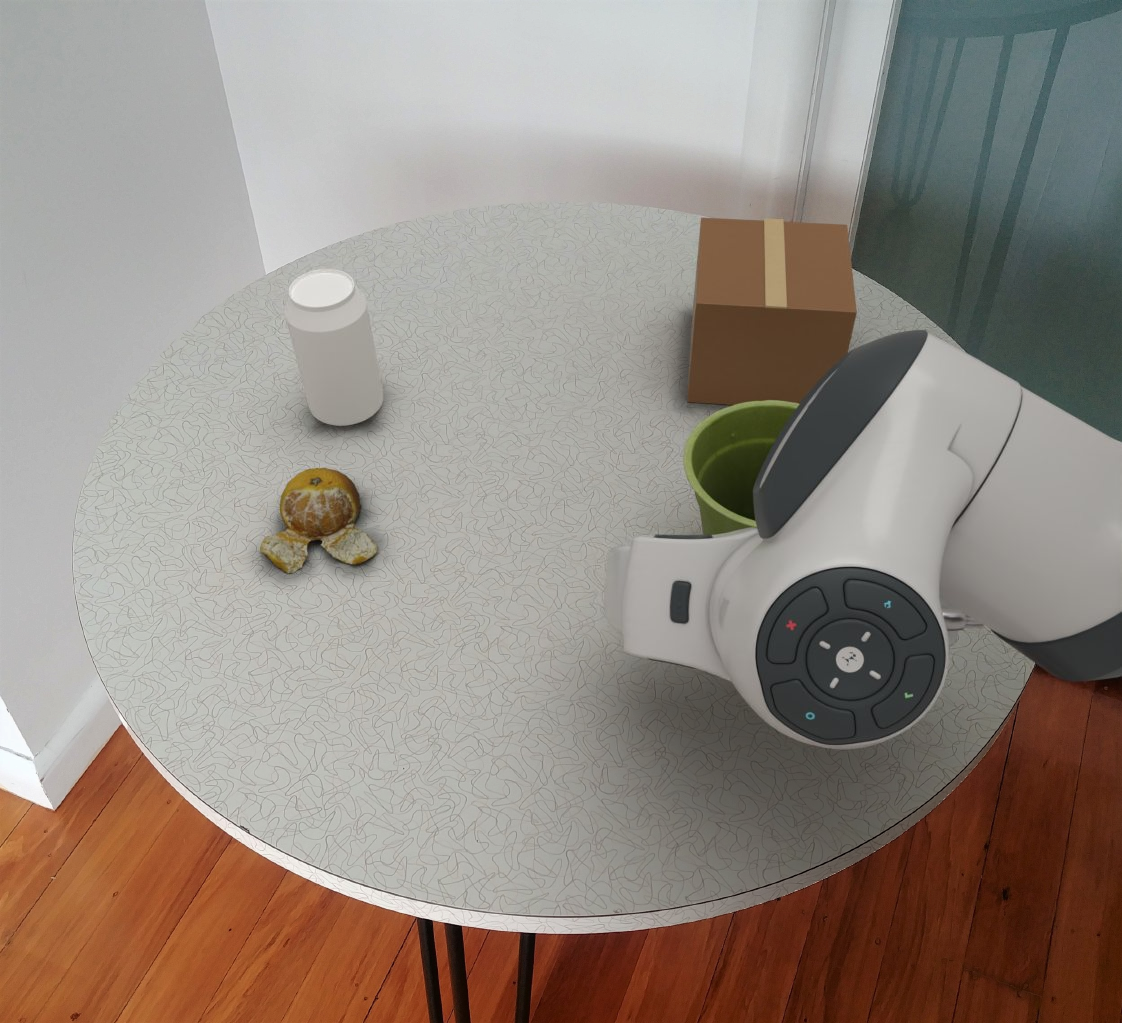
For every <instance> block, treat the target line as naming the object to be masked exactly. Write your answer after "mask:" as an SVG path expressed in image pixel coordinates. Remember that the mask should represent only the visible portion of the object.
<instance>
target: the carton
mask: <svg viewBox="0 0 1122 1023" xmlns="http://www.w3.org/2000/svg"><path fill="white" fill-rule="evenodd" d="M699 223H700V225H699V236H698V247H697V257H696V258H697V259H696V268H695V280H694V291H693V301H692V302H693V303H692V312H691V314H692V315H691V330H690V345H689V361H688V362H689V363H688V377H687V378H688V379H687V394H686V395H687V396H686V402H687V403H696V404H710V405H711V404H712V405H725V406H726V405H728V406H733V405H736V404H740V403H745V402H752V401H765V400H778V401H786V402H793V403H798V404H800V403H801V402H802V400H803V399H804V398H805V396H806V395H807V394H808V393H809V391H810V390H811V389H812V388H813V387H814V386H815V384H816V383H817V382H818V381H819V380H820V379H821V378H822V377H823V376H824V375H825V374H826V373H827V372H828V371H829V370H830V369H831V368H832V367H833V366H834V365H835V364H836V363H837V362H838V361H839V360H840V359H841V358H842V357H844V356H845V355H846V354H847V353H848V352H849V350H850V345H851V340H852V337H853V336H852V335H853V332H854V327H855V323H856V318H857V314H858V311H857V301H856V300H857V299H856V292H855V284H854V283H855V282H854V274H853V266H852V256H851V248H850V237H849V230H848V225H847V224H840V223H820V222H800V221H785V220H784V218H765V217H764V218H763V220H762V219H761V220H760V219H741V218H740V219H739V218H720V217H719V218H718V217H700V222H699Z"/></svg>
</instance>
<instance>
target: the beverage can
mask: <svg viewBox="0 0 1122 1023" xmlns="http://www.w3.org/2000/svg"><path fill="white" fill-rule="evenodd" d="M284 317H285V321H286V326H287V329H288V333H289V337H290V339H291V340H290V341H291V344H292V348H293V352H294V356H295V360H296V364H297V369H298V371H299V376H300V380H301V383H302V387H303V391H304V395H305V398H306V402H307V405H308V409H309V411H310V413H311V415H312V416H313V417H314V418H315V419H316V420H318V421H319V422H321V423H324V424H327V425H330V426H337V427H344V426H352V425H355V424H359V423H362V422H364V421H366V420H368V419H370V418H371V417H373V416H374V415H375V414H376V413H377V412H378V411H379V410H380V408H381V407H382V405H383V402H384V388H383V383H382V377H381V372H380V366H379V361H378V356H377V355H378V354H377V348H376V344H375V338H374V334H373V328H372V323H371V317H370V313H369V306H368V301H367V298H366V295H365V294H364V293H363V292H362V291H361V290H360V289H359V288H358V286H357V285H356V284H355V280H354V279H353V277H352V276H351V275H350V274H349V273H347V272H346V271H343V270H339V269H335V268H321V269H320V268H319V269H314V270H310V271H308V272H305V273H302V274H301V275H299V276H298V277H296V278H295V279H294V280H293V281H292V282H291V283H290V284H289V287H288V298H287V302H286V304H285V307H284Z"/></svg>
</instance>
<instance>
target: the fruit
mask: <svg viewBox="0 0 1122 1023" xmlns="http://www.w3.org/2000/svg"><path fill="white" fill-rule="evenodd" d="M362 507H363V505H362V504H361V496H360V493H359V491H358V489H357V487H356V484H355V483H354V482H353V480H352V479H351V478H349V477H348V476H347V475H346V474H345V473H343V472H341V471H339V470H336V469H333V468H332V469H331V468H327V467H315V468H308V469H305V470H302V471H300V472H299V473H297V474H296V475H295V476H293V477H292V478H291V479H290V480H289V481H288V482H287V484H286V486H285V488H284V489H283V491H282V493H281V495H280V501H279V512H280V516H281V518H282V521H283V523H284V525H285V527H286V529H285V531H280V532H277V533H274V534H270V535H267V536H265V537H264V538H263V539H262V541H261V543H260V551H261V553H262V554H263V555H264V556H267V558H268V559H269V560H270V561H271V563H272V564H273V565H274V566H275V567H277V568H278V569H281V570H282V571H283V572H284V573H287V574H293V573H295V572H297V571H298V570H299V569H303V565H304V563H305V561H306V560H307V558H308V555H309V554H308V544H309V543H310V542H311V541H316V540H320V541H322V542H321V544H320V546H321V547H322V548H324V549H325V551H326V552H327V553H328V554H330V555H332V558H333V559H337V560H339V561H341V562H343V563H345V564H349V565H357V564H362V563H363V562H366V561H368V559H371V558H373V557H374V555H376V553H377V552H378V546H377V544H376V543H375V542H374V540H373V539H372V537H371V536H369V534H368V533H366V532H364V531H363V530H361V529H359V528H357V526H356V525H355V521H356V519H357V517H358V516H359V514H360V512H361V509H362Z"/></svg>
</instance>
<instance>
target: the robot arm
mask: <svg viewBox="0 0 1122 1023" xmlns="http://www.w3.org/2000/svg"><path fill="white" fill-rule="evenodd" d="M753 502H754V514H755V520H756V525H757V528H754V527H751V528H745V529H741V530H737V531H733V532H728V533H723V534H717V535H710V534H703V533H702V534H659V533H658V534H655V535H646V534H639V535H637V536H634V537H633V538H632V539H631V541H630V545H620V546H614V547H612V548H609V550H608V551H607V556H606V567H605V576H604V577H605V578H604V595H603V613H604V615H605V619H606V621H607V623H608V625H609V626H610V627H611V628H612V629H613V630H614V631H616V632H617V633H619V634H621V635H622V642H623V651H624V652H625V653H627V655H630V656H632V657H637V658H642V659H646V660H649V661H655V662H660V663H666V664H670V665H675V666H680V667H685V668H688V669H693V670H700V671H703V672H705V673H709V674H711V675H714V676H717V677H719V678H721V679H724V680H726V681H728V682H730V683H732V684H733V686H734V688H735V690H736V691H737V692H738V693H739V695H740V696H741V698H742V699H743V700H744V701H745V702H746V704H747V705H748V706H749V707H750V708H751V709H752V710H753V711H754V712H755V713H756V714H757V716H758V717H760V718H761V719H762V720H763V721H764V722H765V723H767V724H768V725H769V726H770V727H772V728H773V729H775V730H776V731H778V732H779V733H781V734H782V735H785V736H787V737H789V738H791V739H793V740H795V741H797V742H800V743H804V744H807V745H811V746H814V747H815V746H816V747H820V748H824V749H825V748H826V749H830V750H831V749H832V750H855V749H863V748H867V747H871V746H875V745H878V744H882V743H884V742H886V741H889V740H891V739H893V738H895V737H897V736H899V735H901V734H903V733H905V732H906V731H908V730H910V729H911V728H913V727H914V726H915V725H917V723H918V722H920V721H921V720H922V719H923V718H924V717H925V716H926V715H927V714H928V713H929V711H931V709H932V707H933V706H934V705H935V704H936V702H937V700H938V699H939V696H940V695H941V693H942V690H943V688H944V685H945V682H946V679H947V676H948V671H949V666H950V653H951V652H950V648H951V647H953V646H955V645H956V644H957V642H958V634H959V631H963V630H965V629H978V630H979V629H983V628H984V627H986V628H988V629H990V630H991V632H992V633H993V634H994V635H995V636H997V637H998V638H999V639H1001V640H1002V641H1004V642H1005V643H1006V644H1008V645H1009V646H1010V647H1012V648H1013V649H1014V650H1016V651H1017V652H1018V653H1020V654H1021V655H1023V656H1025V657H1026V658H1027V659H1028V660H1030V661H1032V662H1033V663H1034V664H1036V665H1037V666H1039V667H1040V668H1042V669H1043V670H1044V671H1046V672H1047V673H1048V674H1050V675H1051V676H1053V677H1055V678H1056V679H1059V680H1061V681H1065V682H1074V683H1075V682H1077V683H1078V682H1089V681H1090V682H1091V681H1099V680H1100V681H1101V680H1107V679H1114V678H1120V677H1122V441H1119V440H1117V439H1115V438H1113V437H1111V436H1109V435H1107V434H1106V433H1104V432H1102V431H1101V430H1099V429H1097V428H1095V427H1093V426H1091V425H1089V424H1087V422H1084V421H1083V420H1081V419H1079V418H1078V417H1076V416H1074V415H1073V414H1070V413H1069V412H1067V411H1065V410H1064V409H1062V408H1061V407H1058V406H1056V405H1055V404H1053V403H1051V402H1049V401H1048V400H1046V399H1044V398H1043V397H1041V396H1039V395H1037V394H1036V393H1034V392H1032V391H1030V390H1029V389H1027V388H1025V387H1023V386H1022V385H1021V384H1020V382H1019V381H1017V380H1016V379H1015V380H1014V379H1013V378H1012V377H1010V376H1008V375H1006V374H1004V373H1002V372H1000V371H999V370H997V369H996V368H994V367H992V366H990V365H988V364H987V363H985V362H983V361H981V360H980V359H978V358H977V357H975V356H973V355H972V354H969V353H968V352H965V351H964V350H962V349H960V348H958V347H957V346H955V345H952V344H951V343H949V342H947V341H945V340H943V339H941V338H939V337H937V336H935V335H934V334H932V333H930V332H928V331H927V329H914V330H905V331H899V332H895V333H891V334H888V335H885V336H883V337H880V338H877V339H875V340H872V341H869V342H867V343H865V344H862V345H859V346H857V347H855V348H853V349H851V350H849V351H848V353H847V354H846V355H845V356H844V357H842V358H841V359H840V360H839V361H838V362H837V363H836V364H835V365H834V366H833V367H832V368H831V369H830V370H829V371H828V372H827V373H826V374H825V375H824V376H823V377H822V378H821V379H820V380H819V381H818V382H817V383H816V384H815V386H814V387H813V388H812V389H811V390H810V391H809V393H808V394H807V395H806V396H805V398H804V399H803V400H802V402H801V403H800V404H799V406H798V407H797V408H796V410H795V411H794V412H793V414H792V415H791V417H790V418H789V420H788V421H787V423H786V424H785V426H784V427H783V429H782V431H781V432H780V434H779V436H778V437H777V439H776V441H775V442H774V444H773V446H772V448H771V450H770V452H769V454H768V456H767V457H766V460H765V462H764V464H763V466H762V468H761V470H760V472H759V475H758V477H757V479H756V482H755V485H754V488H753Z"/></svg>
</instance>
